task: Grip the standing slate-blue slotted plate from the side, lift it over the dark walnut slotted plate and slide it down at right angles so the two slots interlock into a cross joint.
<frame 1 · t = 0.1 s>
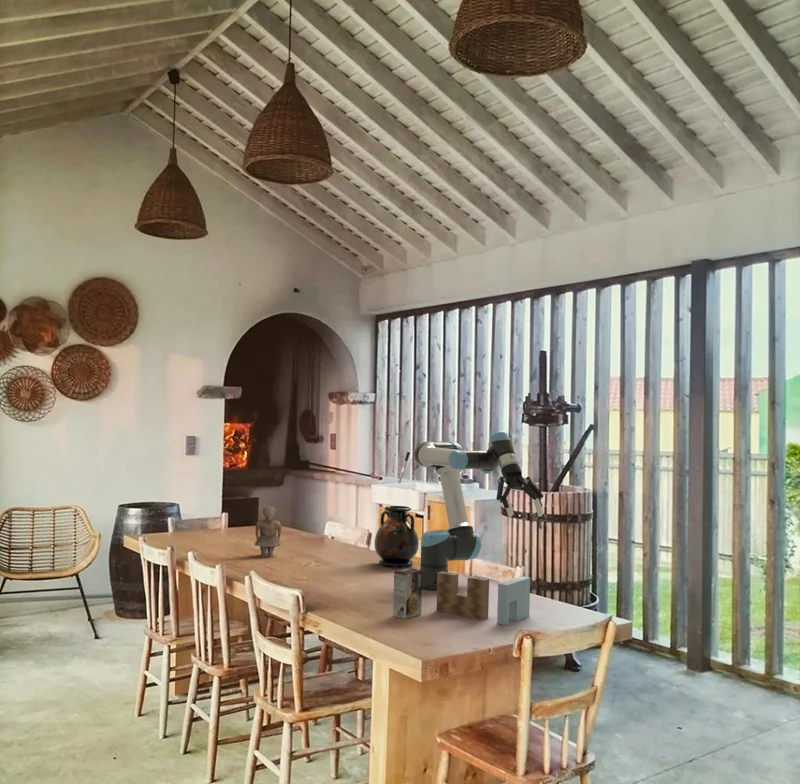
hand: (526, 515, 301), 36 cm above the table, tool tilted 35°, fingers open, 13 cm apart
clay figurine: (266, 556, 396), on the table
blue plate: (513, 619, 285), on the table
amphora vase: (395, 565, 383), on the table
coffee box: (406, 615, 286), on the table
walnut plate: (461, 614, 290), on the table
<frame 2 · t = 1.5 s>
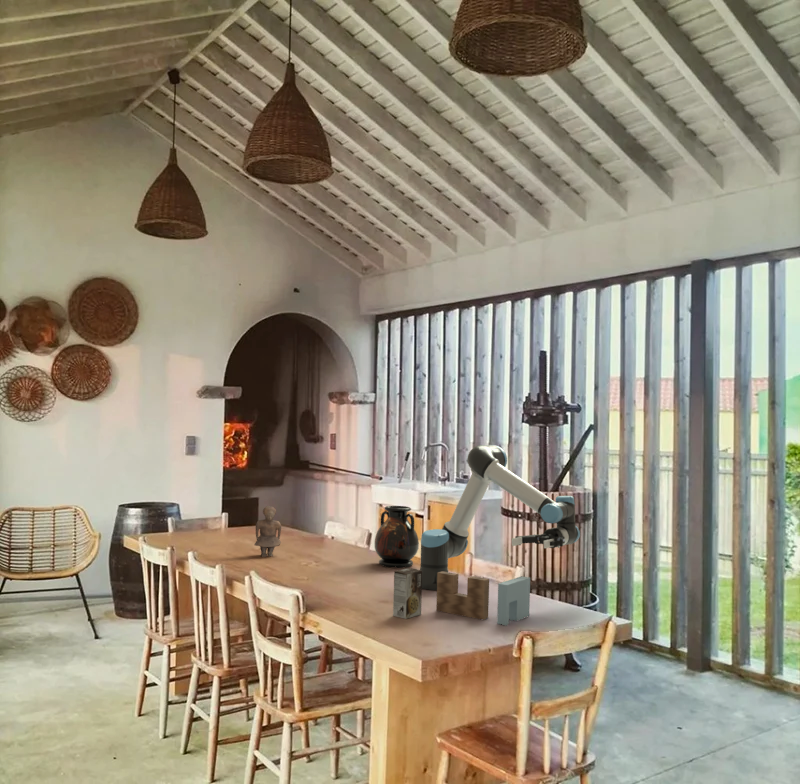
hand: (528, 543, 297), 26 cm above the table, tool horizontal, fingers open, 13 cm apart
nothing on the table moved.
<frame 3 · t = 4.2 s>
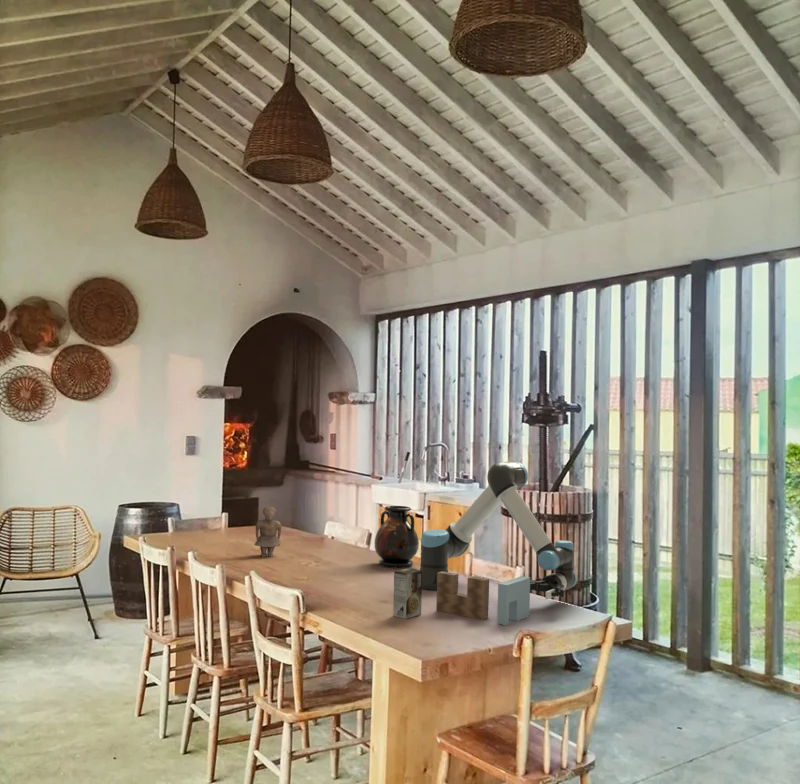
hand: (529, 592, 294), 8 cm above the table, tool horizontal, fingers open, 13 cm apart
nothing on the table moved.
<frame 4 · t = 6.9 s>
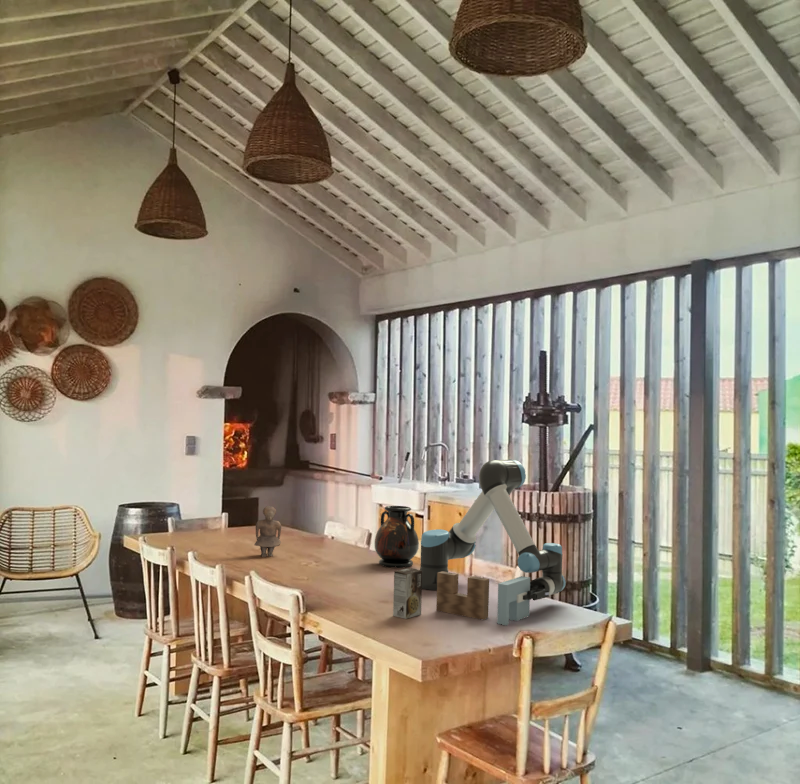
hand: (512, 597, 284), 8 cm above the table, tool horizontal, fingers closed on blue plate, 3 cm apart
blue plate: (513, 619, 285), on the table, touching gripper
everything else where it was.
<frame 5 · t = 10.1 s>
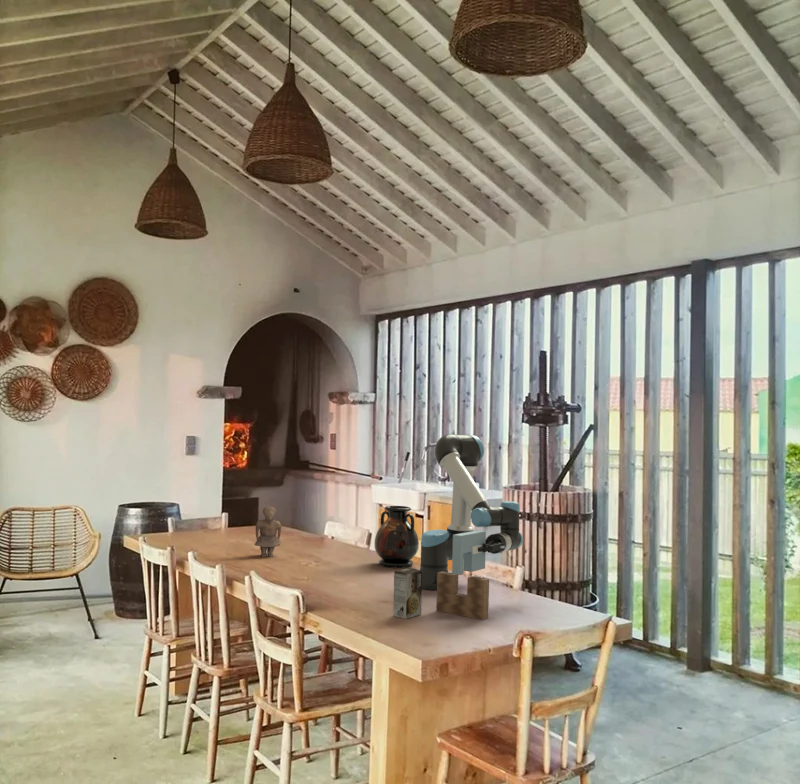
hand: (467, 549, 293), 23 cm above the table, tool horizontal, fingers closed on blue plate, 3 cm apart
blue plate: (468, 571, 294), point 15 cm above the table, touching gripper
everything else where it was.
when the fingers open (10 cm above the table, at t = 13.4 s): blue plate drops 2 cm, on the table.
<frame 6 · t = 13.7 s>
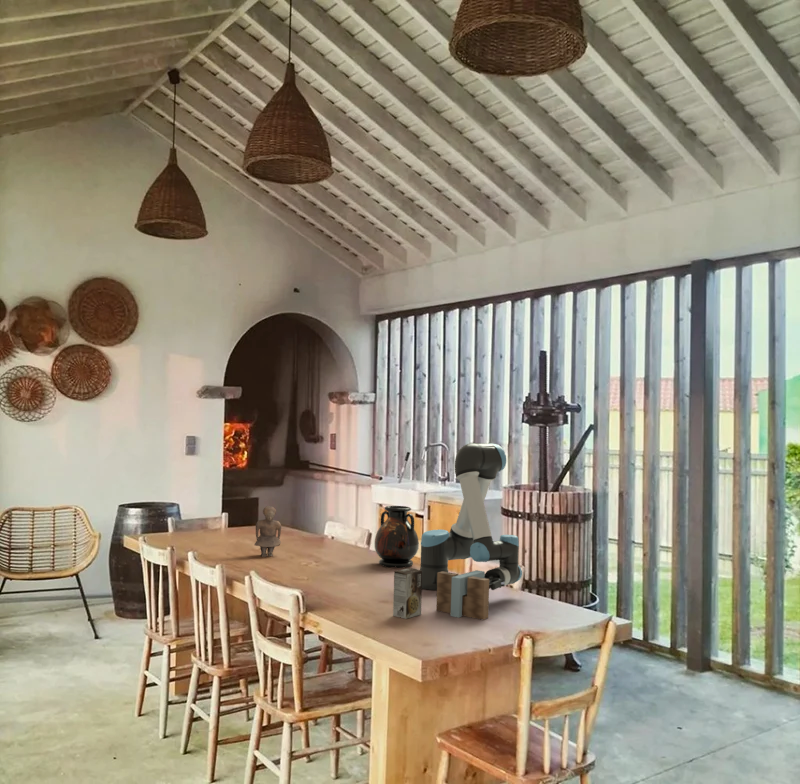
hand: (466, 586, 293), 9 cm above the table, tool horizontal, fingers open, 7 cm apart
blue plate: (467, 612, 294), on the table
everything else where it was.
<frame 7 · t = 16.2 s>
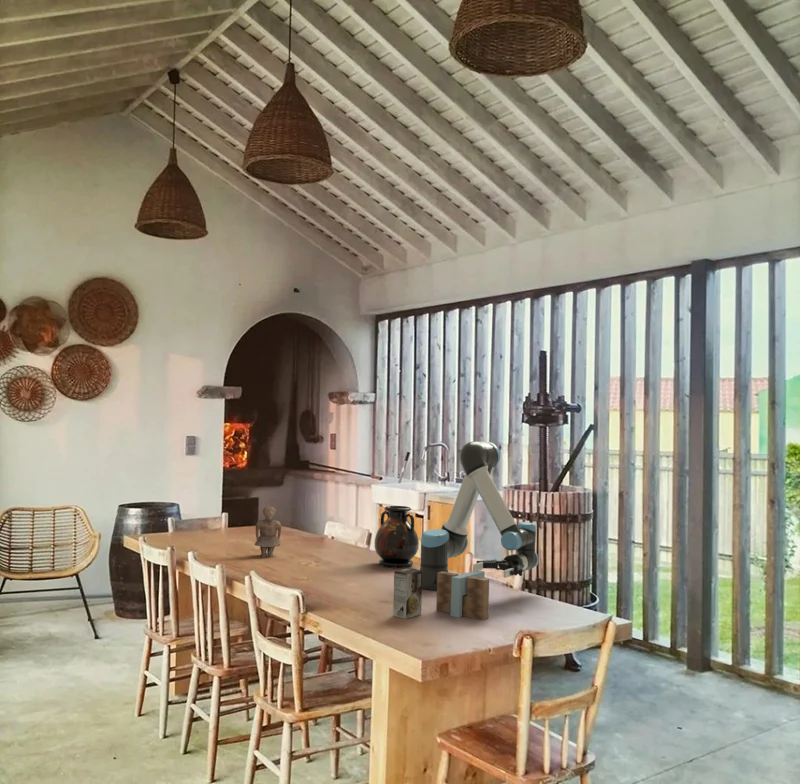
hand: (489, 570, 305), 13 cm above the table, tool horizontal, fingers open, 13 cm apart
nothing on the table moved.
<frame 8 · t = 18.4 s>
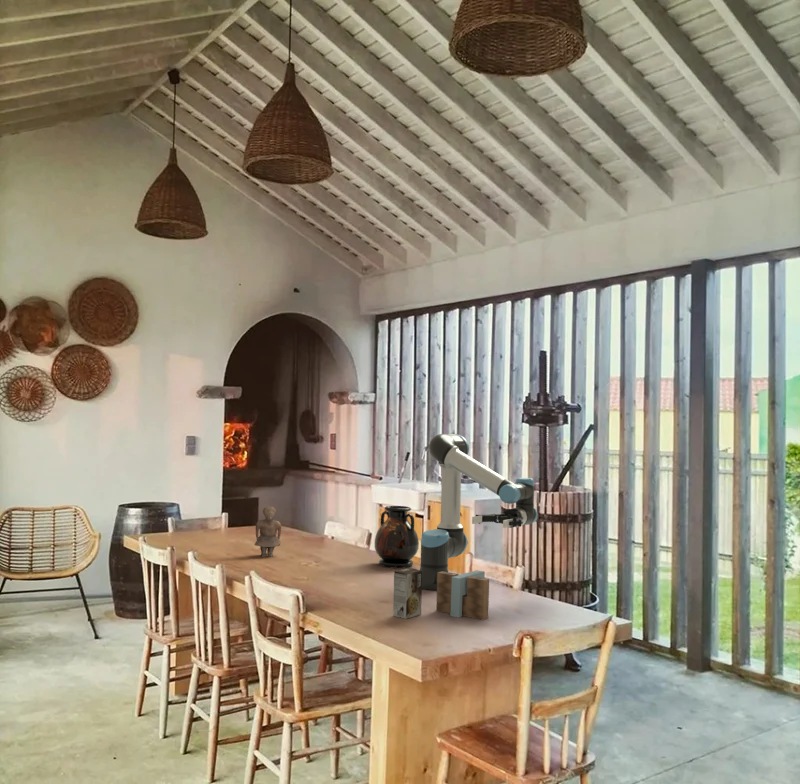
hand: (488, 522, 306), 32 cm above the table, tool horizontal, fingers open, 13 cm apart
nothing on the table moved.
at the end: blue plate 0.0 cm from the target spot, on the table; blue plate tilted 0°; the gripper is holding nothing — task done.
